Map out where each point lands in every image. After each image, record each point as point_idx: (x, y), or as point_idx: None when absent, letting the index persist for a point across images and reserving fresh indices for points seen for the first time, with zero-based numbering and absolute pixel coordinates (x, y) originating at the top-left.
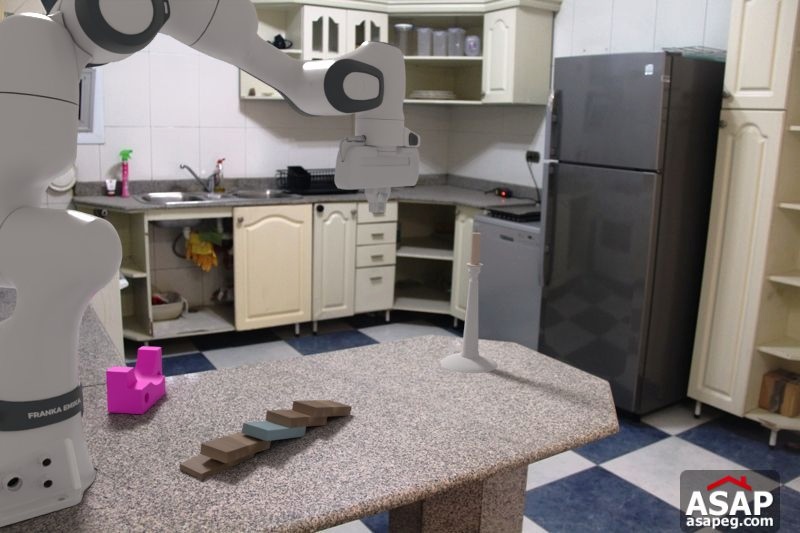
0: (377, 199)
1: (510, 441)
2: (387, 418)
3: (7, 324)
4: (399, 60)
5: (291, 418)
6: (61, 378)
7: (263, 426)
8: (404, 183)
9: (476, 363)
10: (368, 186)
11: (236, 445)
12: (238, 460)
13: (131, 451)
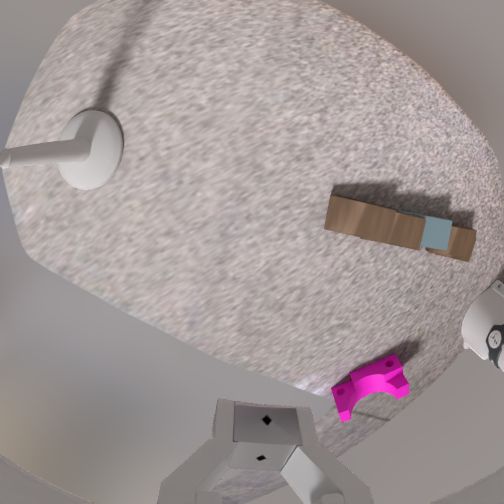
0: (219, 478)
1: (300, 16)
2: (316, 150)
3: None
4: None
5: (424, 219)
6: None
7: (442, 232)
8: (3, 476)
9: (96, 130)
10: (461, 498)
11: (462, 234)
12: None
13: (451, 307)
